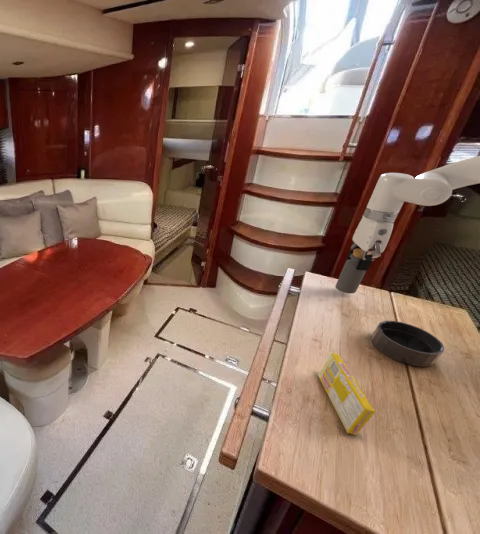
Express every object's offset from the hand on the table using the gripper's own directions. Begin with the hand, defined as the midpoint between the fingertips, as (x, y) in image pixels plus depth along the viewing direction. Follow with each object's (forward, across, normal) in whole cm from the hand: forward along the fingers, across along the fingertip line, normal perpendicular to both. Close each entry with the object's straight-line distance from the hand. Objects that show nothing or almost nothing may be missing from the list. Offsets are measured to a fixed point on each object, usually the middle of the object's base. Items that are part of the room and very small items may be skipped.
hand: (356, 264), depth 103 cm
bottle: (+10, 0, 0) cm, 10 cm away
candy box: (+12, -52, +21) cm, 57 cm away
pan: (+12, -28, -3) cm, 30 cm away
